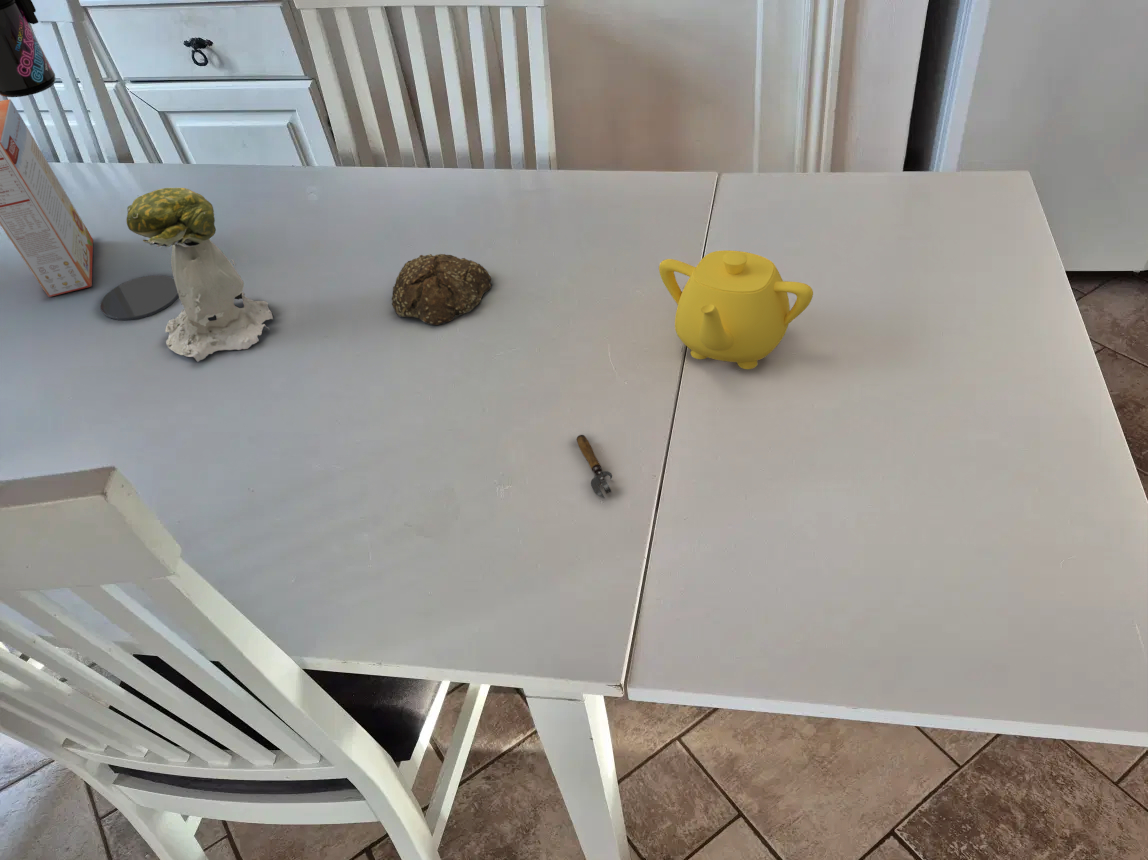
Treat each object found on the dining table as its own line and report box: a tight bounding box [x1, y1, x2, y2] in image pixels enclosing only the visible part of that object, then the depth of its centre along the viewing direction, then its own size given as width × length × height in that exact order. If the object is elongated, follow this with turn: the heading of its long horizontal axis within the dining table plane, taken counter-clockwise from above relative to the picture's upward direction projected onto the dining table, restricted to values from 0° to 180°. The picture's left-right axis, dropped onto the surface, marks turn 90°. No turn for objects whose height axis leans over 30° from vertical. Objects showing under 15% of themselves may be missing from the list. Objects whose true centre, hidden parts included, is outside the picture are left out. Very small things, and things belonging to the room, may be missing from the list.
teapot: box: [658, 249, 814, 370], centre depth 96 cm, size 14×14×12 cm
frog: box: [126, 187, 274, 363], centre depth 100 cm, size 12×13×18 cm
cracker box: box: [0, 98, 94, 298], centre depth 111 cm, size 14×6×21 cm, turn 23°
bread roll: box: [391, 253, 492, 326], centre depth 108 cm, size 13×12×5 cm
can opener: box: [576, 434, 613, 499], centre depth 86 cm, size 9×2×1 cm, turn 16°
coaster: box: [100, 274, 179, 321], centre depth 113 cm, size 10×10×1 cm
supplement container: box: [0, 0, 56, 98], centre depth 94 cm, size 7×7×10 cm
